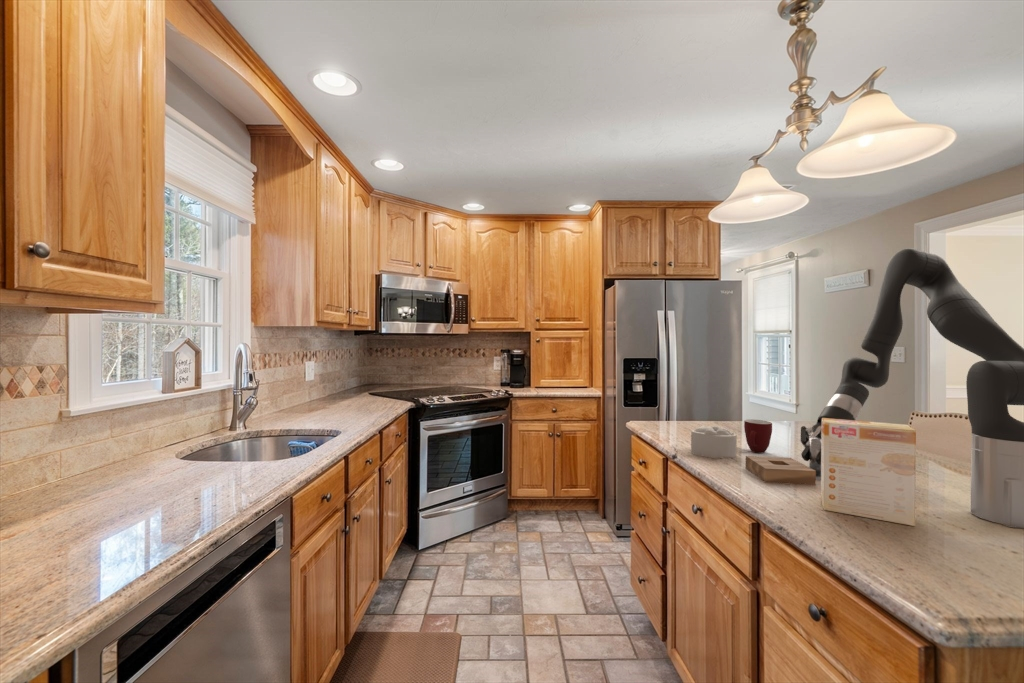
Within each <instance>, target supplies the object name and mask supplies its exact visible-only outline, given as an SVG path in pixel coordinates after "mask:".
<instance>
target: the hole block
mask: <svg viewBox="0 0 1024 683" xmlns="http://www.w3.org/2000/svg"><path fill="white" fill-rule="evenodd" d="M745 469H746V470H747V471H748V472H750V473H751V474H753V475H754V476H756V477H757V478H758V479H759V480H761V481H763V483H769V484H785V485H787V484H788V485H790V484H791V485H807V486H816V484H817V483H816V482H817V480H816V471H815V470H813V469H811V468H809V466H808V465H805V464H803V463H802V462H800V461H798V460H796V459H794V458H792V457H786V456H785V457H783V456H782V457H780V456H760V455H758V456H757V455H745Z"/></svg>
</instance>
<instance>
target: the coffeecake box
mask: <svg viewBox="0 0 1024 683" xmlns="http://www.w3.org/2000/svg"><path fill="white" fill-rule="evenodd" d="M916 444H917V430H916V429H915V428H913V427H911V426H910V425H909V424H906V423H905V424H903V423H891V422H890V423H889V422H878V421H866V420H865V421H864V420H856V421H855V420H843V419H830V418H822V422H821V481H820V501H821V502H820V503H821V504H822V508H823V511H829V512H834V513H840V514H846V515H852V516H855V517H856V516H857V517H861V518H862V517H863V518H867V519H873V520H878V521H879V520H880V521H885V522H889V523H894V524H900V525H906V526H912V527H916V513H917V512H916V509H917V508H916V505H917V504H916V485H917V484H916V479H917V478H916V474H917V473H916V472H917V471H916V469H917V468H916V467H917V466H916V465H917V464H916V462H917V458H916V457H917V455H916V452H917V448H916V447H917V445H916Z"/></svg>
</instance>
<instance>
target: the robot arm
mask: <svg viewBox="0 0 1024 683" xmlns="http://www.w3.org/2000/svg"><path fill="white" fill-rule="evenodd" d="M905 285H909V286H914V287H915V288H918V289H919V290H921V291H922V293H924V295H925V296H926V297H927V298H928V300H929V302H928V304H927V308H926V315H927V318H928V320H929V321H930V323H931V324H932V325H933V327H934V328H935V329H936V330H937V332H938V333H939V335H941V336H942V337H943V338H944V339H946V341H948V342H950V343H952V344H954V345H956V346H958V347H960V348H961V349H964V350H966V351H968V352H970V353H972V354H974V355H976V356H977V357H980V358H982V359H983V360H980V361H977V362H974V364H972V365H971V366H970V368H969V369H968V371H967V375H966V398H967V417H968V420H969V424H970V428H971V445H970V446H971V447H970V448H971V449H970V450H971V451H970V453H971V454H970V458H971V459H970V514H972V515H974V516H976V517H978V518H981V519H983V520H986V521H989V522H993V523H995V524H996V523H997V524H1000V525H1004V526H1006V527H1010V528H1020V529H1024V422H1023V421H1021V420H1018V419H1017V418H1014V417H1013V416H1012V415H1011V414H1010V412H1009V407H1008V406H1024V347H1023V346H1022V345H1021V344H1019V343H1018V342H1017V341H1015V339H1013V338H1012V337H1011V336H1010V335H1009V334H1008V332H1006V331H1005V330H1004V328H1003V327H1002V326H1001V325H999V324H998V323H997V321H995V320H994V318H993V317H992V316H991V314H990V313H989V312H988V311H987V309H985V308H984V307H983V305H982V304H981V303H980V302H979V301H978V300H977V299H976V298H975V297H974V296H973V295H972V294H971V293H970V292H969V291H968V290H967V289H966V288H965V286H963V285H962V283H961V282H960V281H959V280H958V278H957V276H956V275H955V274H954V272H953V270H952V269H951V267H950V266H949V264H948V263H947V261H946V260H945V259H944V258H943V257H941V256H939V255H938V254H937V255H936V254H933V253H930V252H926V251H923V250H920V249H919V250H918V249H915V248H910V247H907V248H902V249H900V250H899V251H897V252H895V254H893V255H892V257H890V259H889V261H888V263H887V266H886V268H885V271H884V274H883V279H882V282H881V286H880V291H879V295H878V298H877V302H876V308H875V310H874V314H873V317H872V320H871V322H870V324H869V326H868V329H867V331H866V333H865V336H864V338H863V340H862V341H861V345H860V346H861V347H860V348H861V349H862V350H863V351H865V352H867V353H870V354H873V356H875V357H876V359H877V362H874V361H872V360H869V359H864V358H861V357H856V356H855V357H854V356H853V357H850V358H848V359H847V360H845V362H844V364H843V366H842V370H841V371H842V373H841V380H840V383H839V385H838V387H837V389H836V390H835V392H834V394H833V395H832V397H831V398H830V399H829V400H828V401H827V403H826V404H825V406H824V408H823V409H822V411H821V412H820V415H818V418H817V421H816V423H815V424H813V425H812V426H811V427H806V426H805V425H802V426H801V427H800V443H801V444H802V445H803V447H804V448H803V450H802V452H801V458H802V459H803V461H805V462H809V453H810V437H817V438H821V422H822V418H830V419H843V420H855V421H857V419H858V418H859V415H861V414H860V413H861V410H862V408H863V406H864V404H865V403H866V401H867V400H868V398H869V395H870V391H869V389H868V388H867V387H871V388H875V389H876V388H881V387H883V386H885V385H886V384H887V382H888V380H889V376H890V363H891V357H892V353H893V351H894V349H895V346H896V344H897V342H898V340H899V338H900V335H901V333H902V330H903V326H904V325H903V324H904V323H903V322H904V321H903V320H904V319H903V313H902V308H901V307H902V306H901V298H902V292H903V289H904V287H905ZM866 386H867V387H866ZM816 462H817V463H818V464H819V465H821V451H820V452H819V454H818V456H817V457H816Z"/></svg>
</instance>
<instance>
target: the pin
mask: <svg viewBox="0 0 1024 683" xmlns="http://www.w3.org/2000/svg"><path fill="white" fill-rule="evenodd" d="M809 440H810V453H809V461H808V462H809V466H808V467H809V468H811V469H813V470H815V471H816V476H819V477H821V465H819V464H818V463H817V462H816V457H817V456H818V454H819V452H820V451H821V438H817V437H811V436H809Z"/></svg>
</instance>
